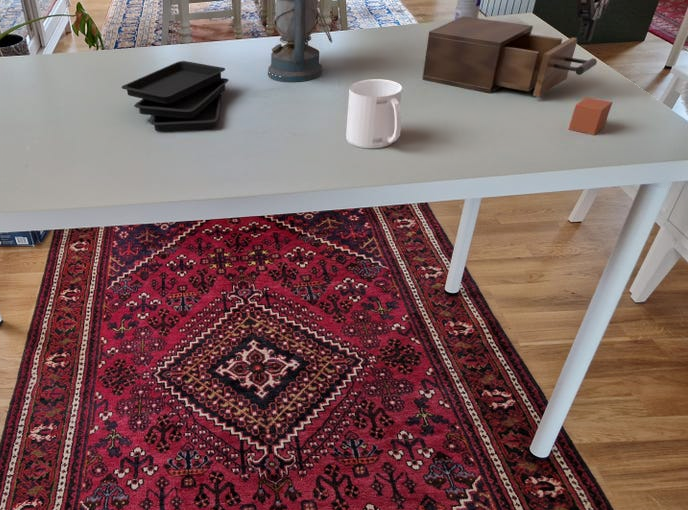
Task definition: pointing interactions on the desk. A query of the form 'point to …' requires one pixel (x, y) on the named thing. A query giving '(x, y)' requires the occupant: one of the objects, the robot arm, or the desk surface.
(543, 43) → the drawer
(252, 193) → the desk surface
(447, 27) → the cabinet
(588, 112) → the block
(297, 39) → the lantern
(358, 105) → the mug
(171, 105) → the tray
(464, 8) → the beverage can
